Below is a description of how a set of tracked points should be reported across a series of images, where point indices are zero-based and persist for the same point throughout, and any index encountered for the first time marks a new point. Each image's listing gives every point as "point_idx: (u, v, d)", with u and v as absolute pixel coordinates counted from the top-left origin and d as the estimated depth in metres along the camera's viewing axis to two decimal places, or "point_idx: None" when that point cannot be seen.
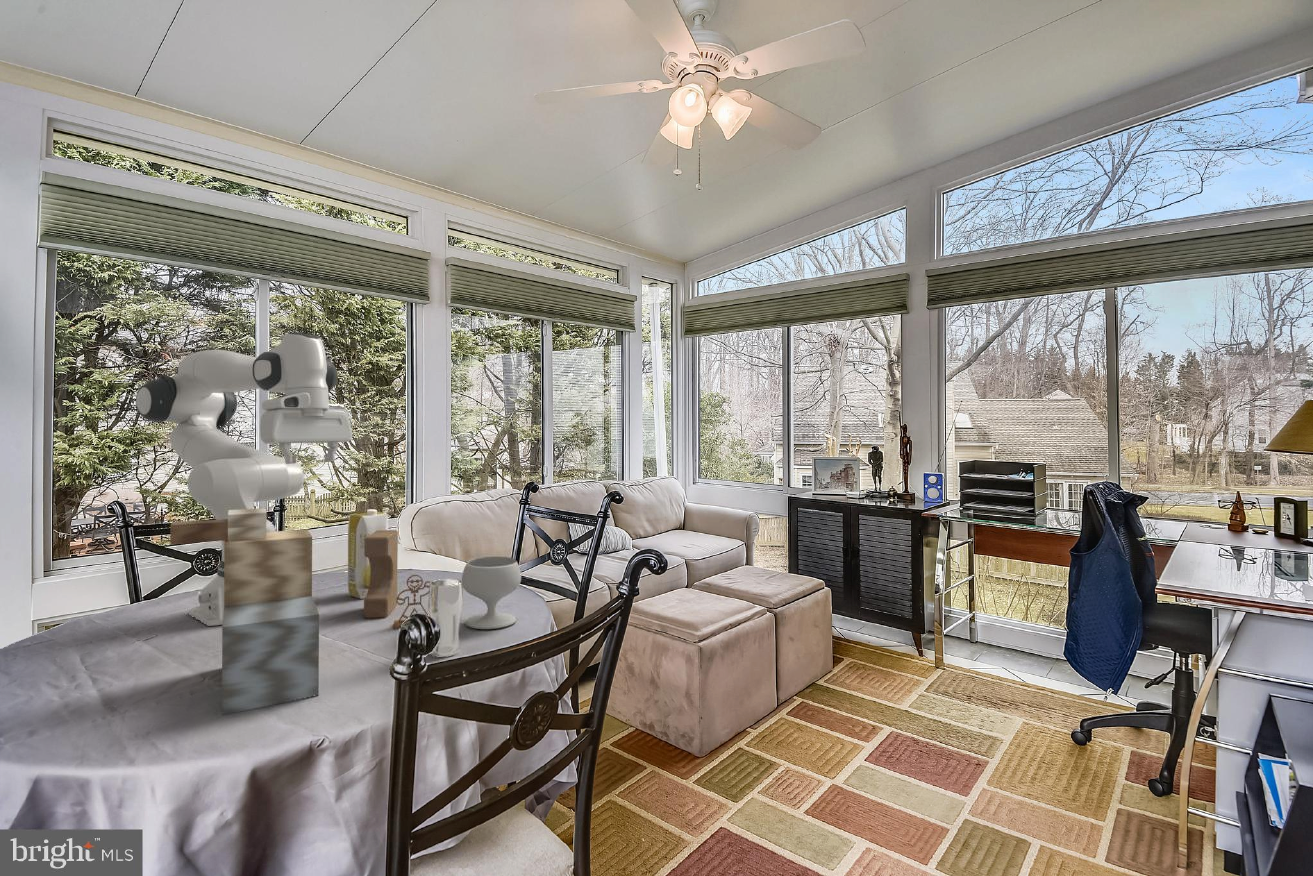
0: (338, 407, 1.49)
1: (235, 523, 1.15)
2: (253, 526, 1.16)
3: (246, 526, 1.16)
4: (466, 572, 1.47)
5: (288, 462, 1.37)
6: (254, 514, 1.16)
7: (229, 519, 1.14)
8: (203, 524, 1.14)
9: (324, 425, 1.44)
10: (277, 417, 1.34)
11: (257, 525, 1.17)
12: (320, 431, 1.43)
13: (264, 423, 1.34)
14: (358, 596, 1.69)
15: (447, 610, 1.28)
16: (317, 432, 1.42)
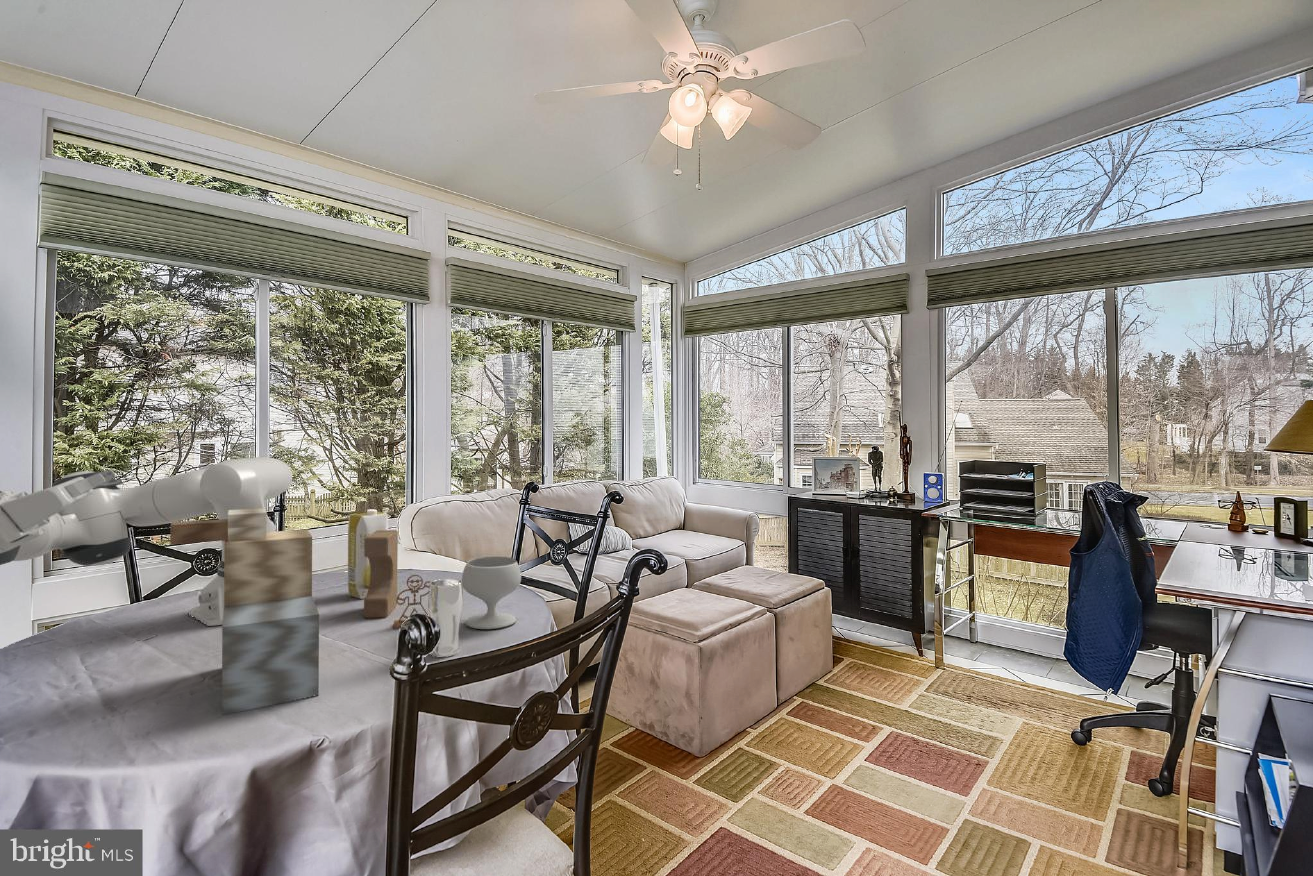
0: None
1: (235, 523, 1.15)
2: (253, 526, 1.16)
3: (246, 526, 1.16)
4: (466, 572, 1.47)
5: (99, 476, 1.05)
6: (254, 514, 1.16)
7: (229, 519, 1.14)
8: (203, 524, 1.14)
9: None
10: (14, 499, 0.97)
11: (257, 525, 1.17)
12: None
13: (33, 512, 0.97)
14: (358, 596, 1.69)
15: (447, 610, 1.28)
16: None
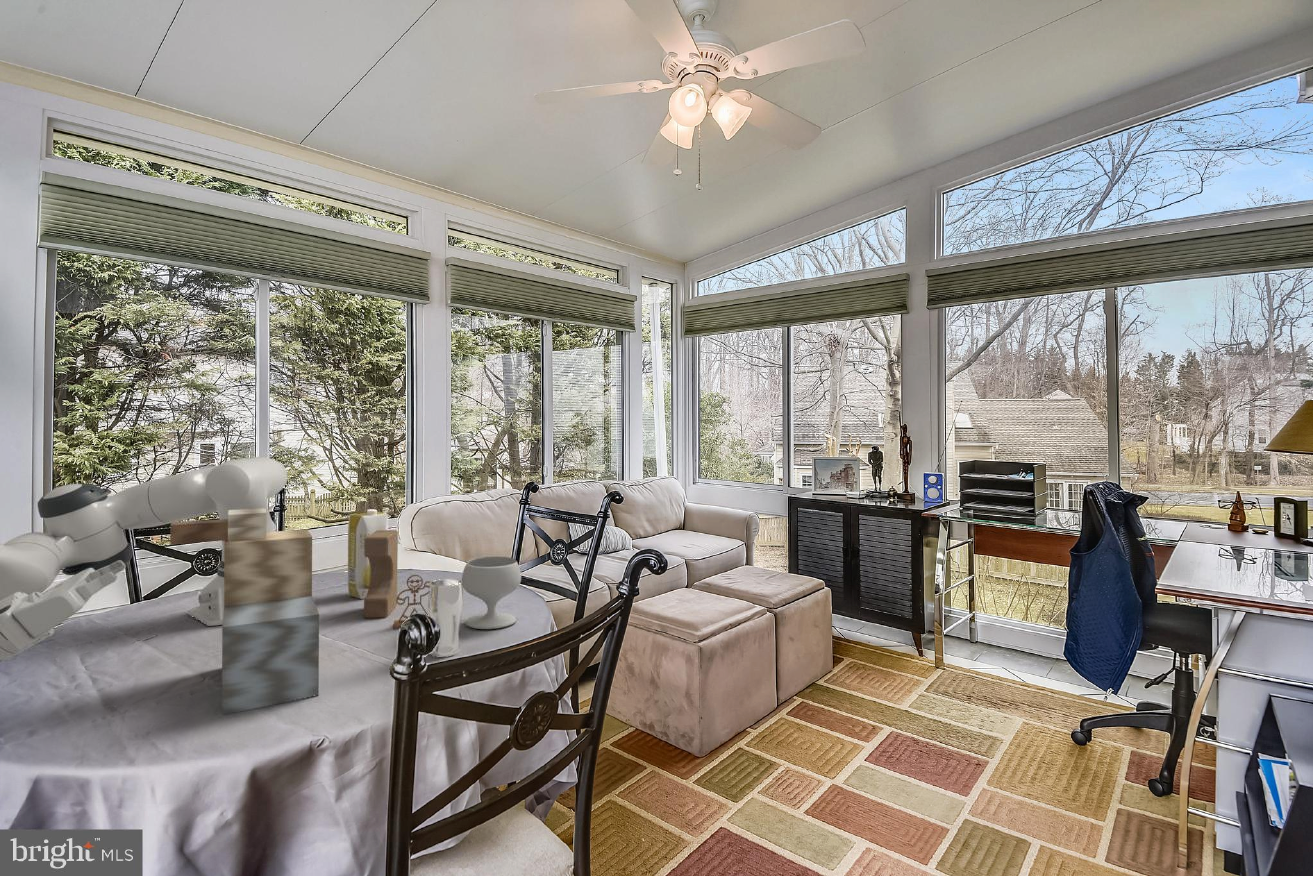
0: None
1: (235, 523, 1.15)
2: (253, 526, 1.16)
3: (246, 526, 1.16)
4: (466, 572, 1.47)
5: (110, 575, 1.04)
6: (254, 514, 1.16)
7: (229, 519, 1.14)
8: (203, 524, 1.14)
9: (58, 587, 1.06)
10: (26, 606, 0.96)
11: (257, 525, 1.17)
12: (67, 583, 1.06)
13: (45, 619, 0.96)
14: (358, 596, 1.69)
15: (447, 610, 1.28)
16: (66, 584, 1.05)
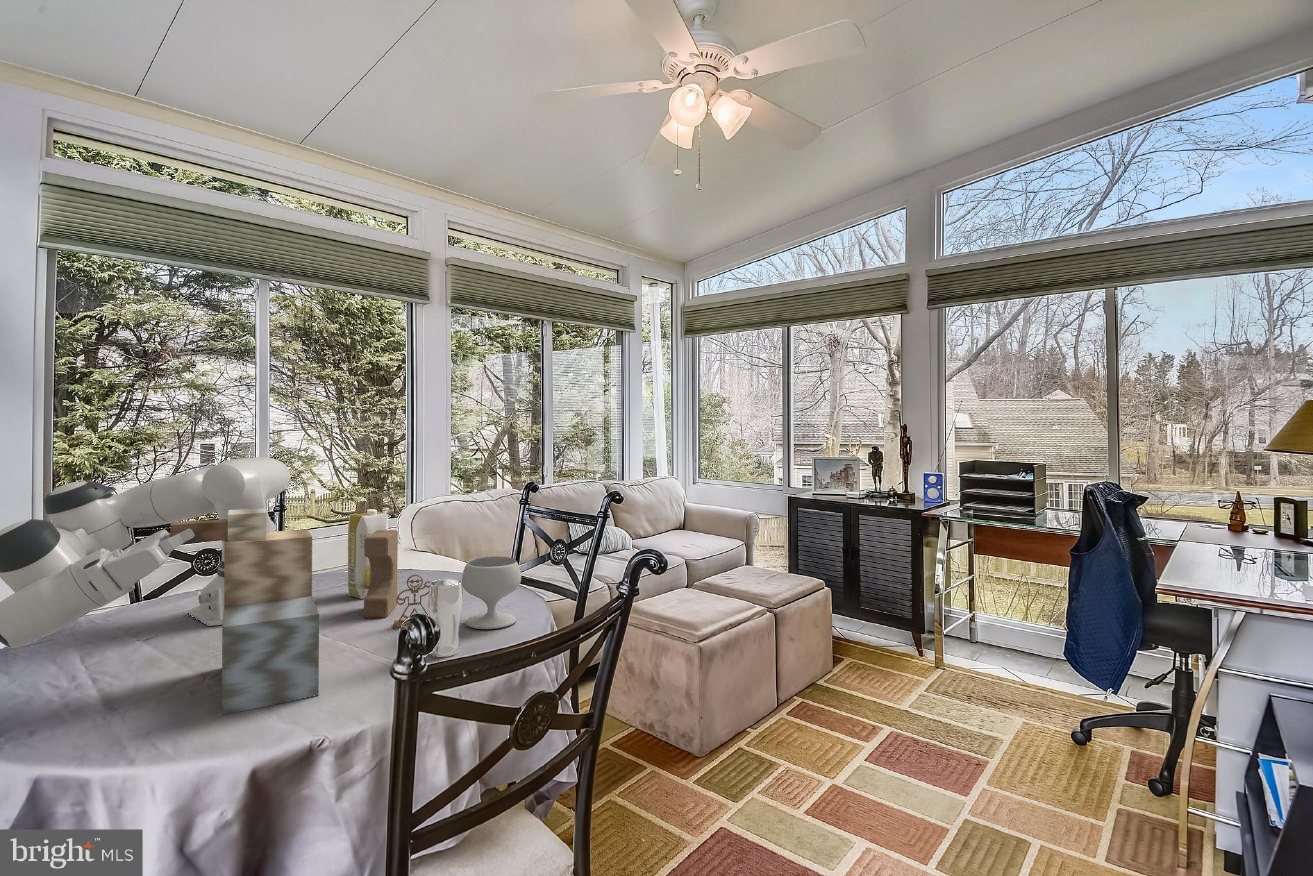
0: None
1: (235, 523, 1.15)
2: (253, 526, 1.16)
3: (246, 526, 1.16)
4: (466, 572, 1.47)
5: (190, 531, 1.11)
6: (254, 514, 1.16)
7: (229, 519, 1.14)
8: (203, 524, 1.14)
9: (138, 546, 1.12)
10: (115, 559, 1.02)
11: (257, 525, 1.17)
12: (146, 541, 1.12)
13: (133, 571, 1.02)
14: (358, 596, 1.69)
15: (447, 610, 1.28)
16: (146, 542, 1.11)
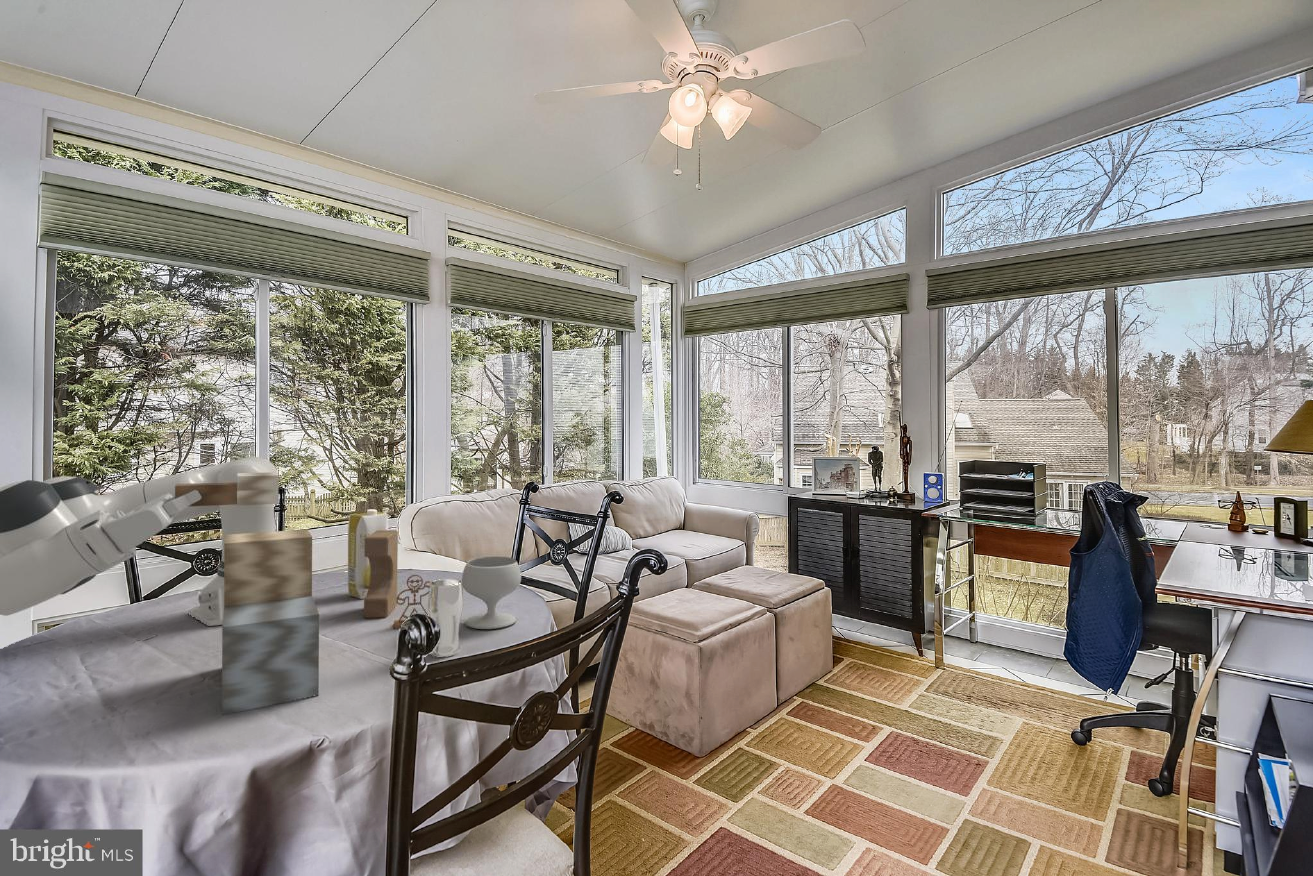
0: None
1: (245, 486, 1.06)
2: (264, 489, 1.08)
3: (257, 489, 1.07)
4: (466, 572, 1.47)
5: (196, 493, 1.03)
6: (265, 476, 1.08)
7: (238, 481, 1.06)
8: (210, 486, 1.05)
9: (140, 508, 1.04)
10: (115, 519, 0.93)
11: (268, 488, 1.08)
12: (149, 504, 1.03)
13: (134, 533, 0.94)
14: (358, 596, 1.69)
15: (447, 610, 1.28)
16: (149, 504, 1.03)
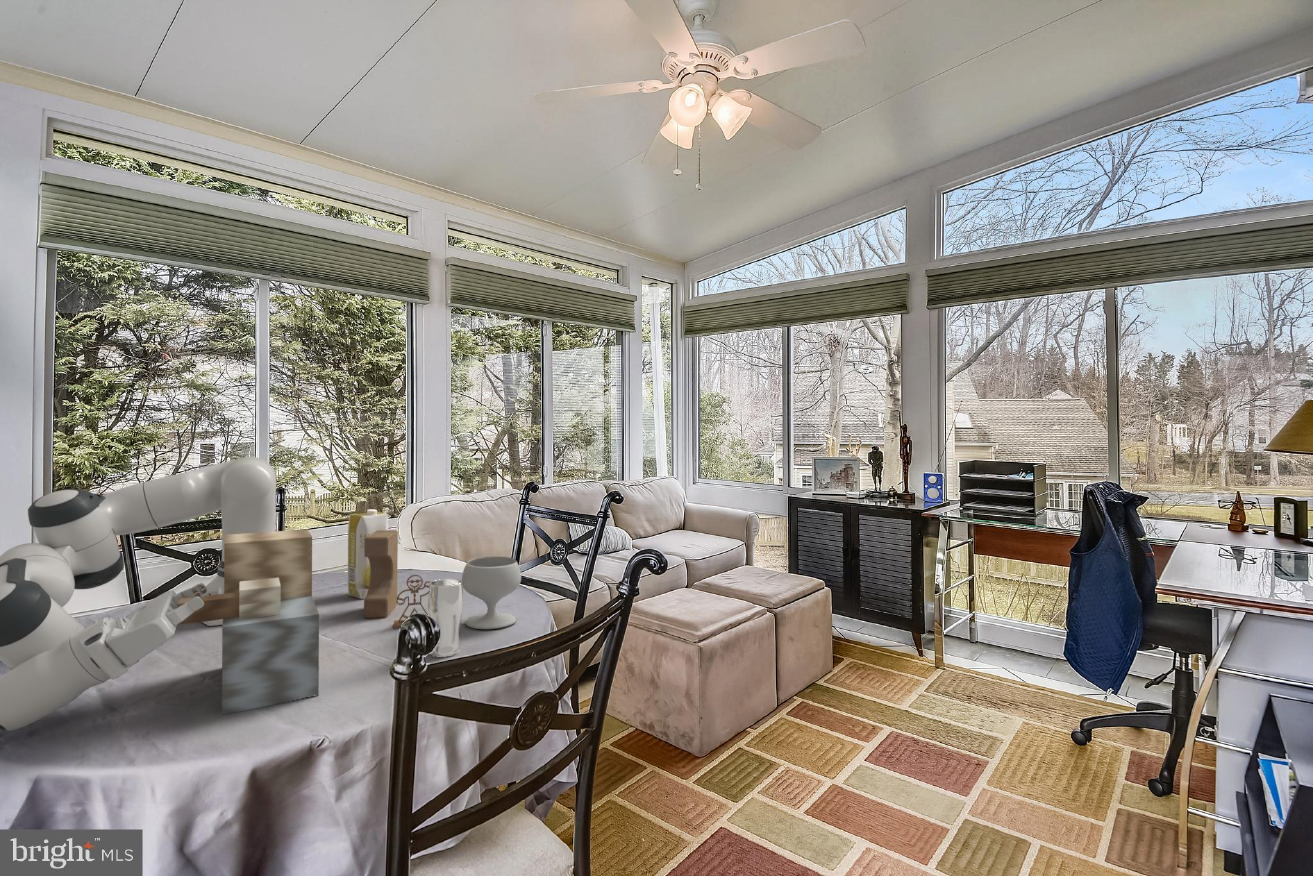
0: None
1: (247, 599, 1.06)
2: (266, 601, 1.08)
3: (259, 602, 1.07)
4: (466, 572, 1.47)
5: (198, 600, 1.01)
6: (267, 588, 1.08)
7: (241, 595, 1.06)
8: (213, 601, 1.05)
9: (143, 612, 1.04)
10: (119, 634, 0.93)
11: (270, 600, 1.08)
12: (152, 607, 1.03)
13: (138, 647, 0.94)
14: (358, 596, 1.69)
15: (447, 610, 1.28)
16: (152, 608, 1.03)
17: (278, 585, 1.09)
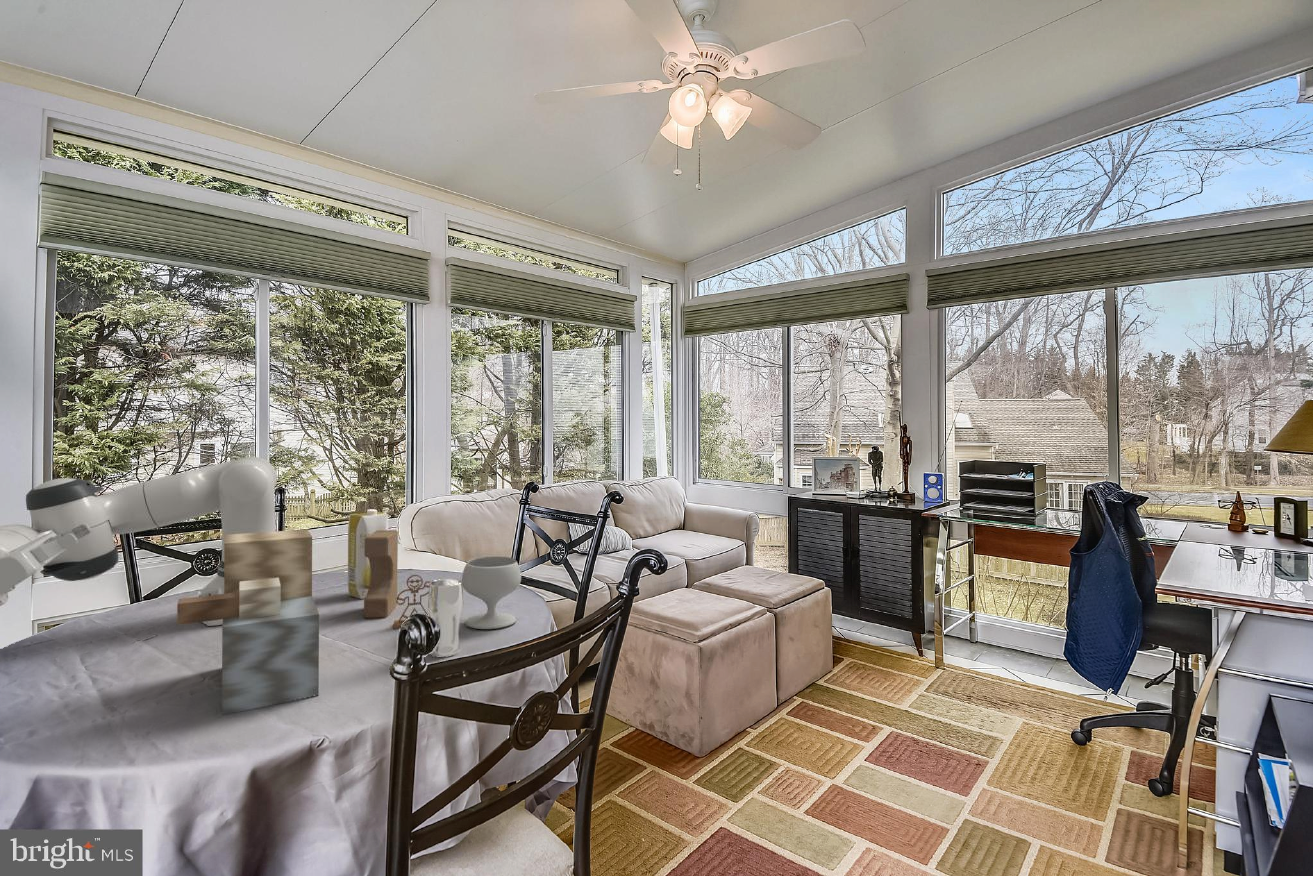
0: None
1: (247, 599, 1.06)
2: (266, 601, 1.08)
3: (259, 602, 1.07)
4: (466, 572, 1.47)
5: (70, 537, 0.93)
6: (267, 588, 1.08)
7: (241, 595, 1.06)
8: (213, 601, 1.05)
9: (14, 551, 0.95)
10: None
11: (270, 600, 1.08)
12: None
13: None
14: (358, 596, 1.69)
15: (447, 610, 1.28)
16: (22, 547, 0.94)
17: (278, 585, 1.09)
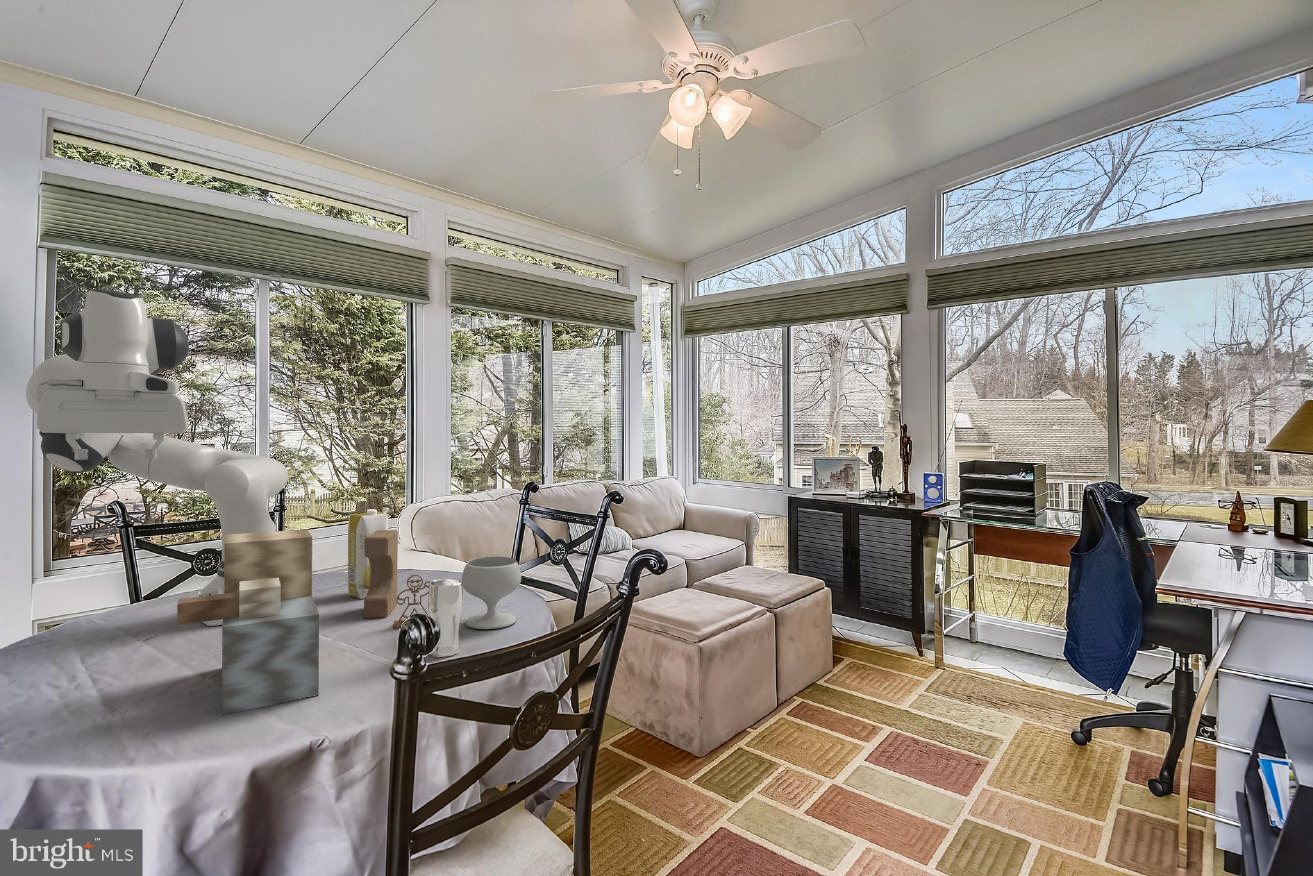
0: None
1: (247, 599, 1.06)
2: (266, 601, 1.08)
3: (259, 602, 1.07)
4: (466, 572, 1.47)
5: (156, 456, 1.14)
6: (267, 588, 1.08)
7: (241, 595, 1.06)
8: (213, 601, 1.05)
9: None
10: None
11: (270, 600, 1.08)
12: None
13: (185, 410, 1.15)
14: (358, 596, 1.69)
15: (447, 610, 1.28)
16: None
17: (278, 585, 1.09)
